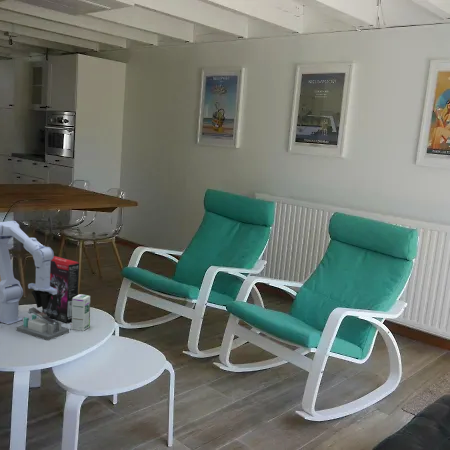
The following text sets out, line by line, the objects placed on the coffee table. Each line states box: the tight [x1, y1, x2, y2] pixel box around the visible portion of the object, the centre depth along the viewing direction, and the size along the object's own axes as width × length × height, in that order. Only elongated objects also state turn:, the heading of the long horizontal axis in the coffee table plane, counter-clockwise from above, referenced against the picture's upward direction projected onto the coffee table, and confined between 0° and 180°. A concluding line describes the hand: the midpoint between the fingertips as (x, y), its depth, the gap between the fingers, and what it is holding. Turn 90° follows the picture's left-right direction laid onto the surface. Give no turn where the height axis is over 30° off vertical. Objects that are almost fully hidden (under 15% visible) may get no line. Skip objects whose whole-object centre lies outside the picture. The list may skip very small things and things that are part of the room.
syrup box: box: [71, 293, 91, 332], centre depth 228 cm, size 6×6×14 cm
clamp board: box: [15, 314, 70, 341], centre depth 222 cm, size 18×12×5 cm, turn 63°
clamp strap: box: [27, 307, 58, 326], centre depth 220 cm, size 15×3×2 cm, turn 63°
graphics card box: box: [41, 255, 80, 323], centre depth 238 cm, size 17×7×27 cm, turn 58°
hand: (42, 307), depth 220 cm, fingers open, 2 cm apart
